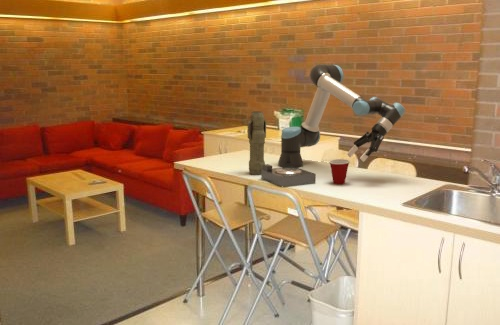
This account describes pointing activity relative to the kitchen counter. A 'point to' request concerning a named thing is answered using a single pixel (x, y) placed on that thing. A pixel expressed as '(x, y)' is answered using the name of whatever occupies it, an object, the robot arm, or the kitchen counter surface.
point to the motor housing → (287, 176)
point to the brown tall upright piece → (256, 142)
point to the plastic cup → (339, 170)
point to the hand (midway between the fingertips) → (354, 157)
